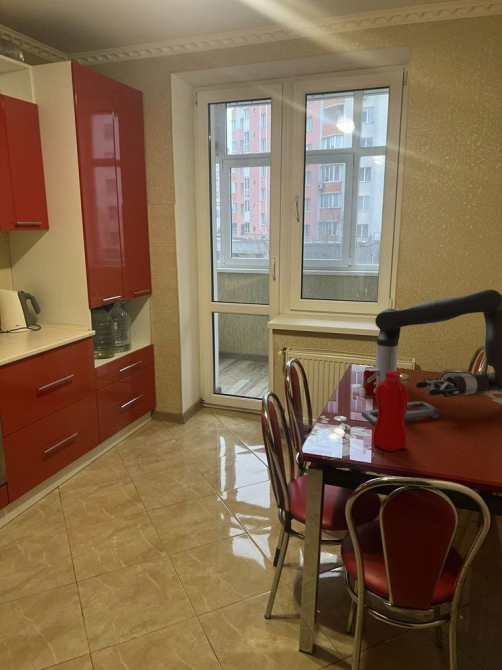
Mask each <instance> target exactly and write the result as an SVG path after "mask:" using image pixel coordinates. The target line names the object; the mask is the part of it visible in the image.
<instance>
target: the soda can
mask: <svg viewBox="0 0 502 670" xmlns="http://www.w3.org/2000/svg"><path fill="white" fill-rule="evenodd" d="M362 379H363V380H362V381H363V384H362V395H363V396H364V397H366V398H368V399H376V397H375V392H376V388H377V386H378V384H379V383H380V372H379V368H376V367H375V366H367V367H365V370H364V371H363V378H362Z"/></svg>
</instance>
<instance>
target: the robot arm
mask: <svg viewBox="0 0 502 670" xmlns="http://www.w3.org/2000/svg"><path fill="white" fill-rule="evenodd" d="M475 313H477V314H479V313H483V316H484V321H485V337H484V339H485V340H484V350H485V361H486V365H487V366H488V367H489V366H490V367H492V368H493V371H494V372H488V373H482V374H481V373H479V374H473V375H457V376H449V377H447V378H446V380H445V381H443V380H439V381H438V377H434V378H424V379H423V381H418V382H417V381H416V384H415V387H416V389H424V388H427V389H429V390H428V395H429V396H443V397H444V398H448V397H449V398H450V397H456V396H457V397H458V396H465V395H471V394H477V393H478V394H479V393H484V392H490V391H493V392H494V391H502V294H501V293H500V292H499V291H497V290H496V289H484V290H480V291H478V292H475V293H470V294H468V295H463V296H458V297H448V298H442V299H441V298H440V299H437V300H436V299H435V300H431V301H425V302H422V303H419V304H417V305H414V306H411V307H407V308H403V309H395V308H386V309H384V310H382V311H380V312H379V313H378V314H377V315H376V317H375V320H374V322H375V326H376V327H377V328H378V329H379V334H378V336H377V339H376V353H375V354H376V355H375V357H376V358H375V364H374V365H375V366H374V367H376V368H379V372H380V383H381V382H383V381H385V380H386V372H387V371H397V369H398V368H397V367H398V353H399V352H398V348H399V347H398V346H399V340H400V335H401V328H402V327H408V326H417V325H420V326H421V325H426V324H427V325H429V324H435V323H439V322H440V323H441V322H446V321H449V320H452V319H456V318H458V317H460V316H463V315H468V314H475ZM397 372H398V371H397Z"/></svg>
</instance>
